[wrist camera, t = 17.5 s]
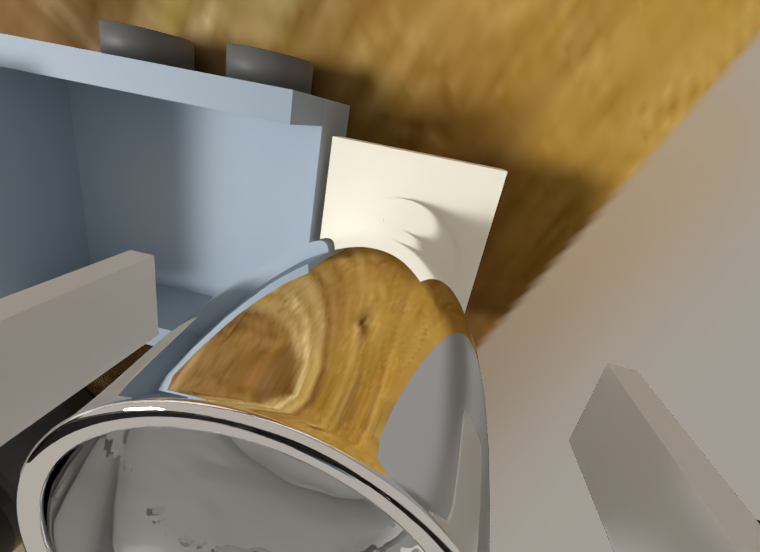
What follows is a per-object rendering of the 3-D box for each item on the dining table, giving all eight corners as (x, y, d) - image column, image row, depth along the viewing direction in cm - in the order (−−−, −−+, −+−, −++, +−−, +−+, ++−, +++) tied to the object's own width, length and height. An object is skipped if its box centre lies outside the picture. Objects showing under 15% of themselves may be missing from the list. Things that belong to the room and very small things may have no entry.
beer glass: (497, 261, 18) (656, 699, 4) (396, 344, 20) (281, 786, 7) (393, 155, 17) (137, 247, 3) (301, 256, 20) (-60, 550, 6)
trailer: (134, 274, 29) (-60, 363, 18) (114, 30, 23) (-202, -67, 12) (434, 348, 27) (427, 499, 16) (503, 103, 21) (569, 70, 10)
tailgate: (309, 323, 21) (450, 359, 20) (332, 136, 17) (507, 171, 16) (318, 312, 22) (450, 345, 22) (341, 135, 19) (503, 168, 18)
